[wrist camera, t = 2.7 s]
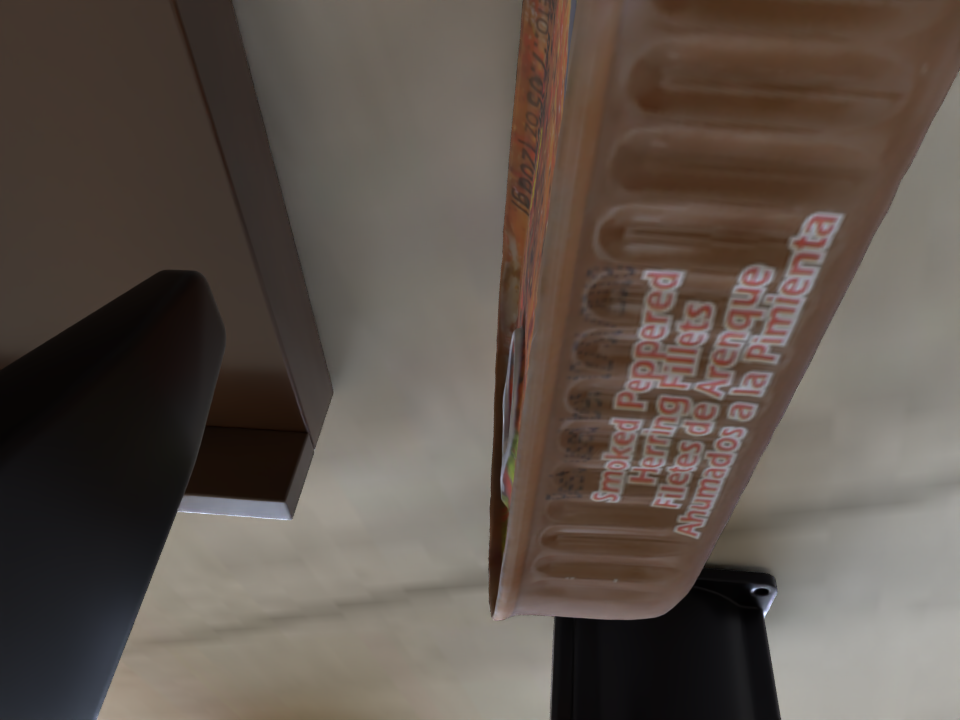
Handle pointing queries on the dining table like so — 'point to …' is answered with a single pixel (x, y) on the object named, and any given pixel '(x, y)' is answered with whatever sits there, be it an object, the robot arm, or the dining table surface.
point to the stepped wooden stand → (159, 217)
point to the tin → (679, 266)
